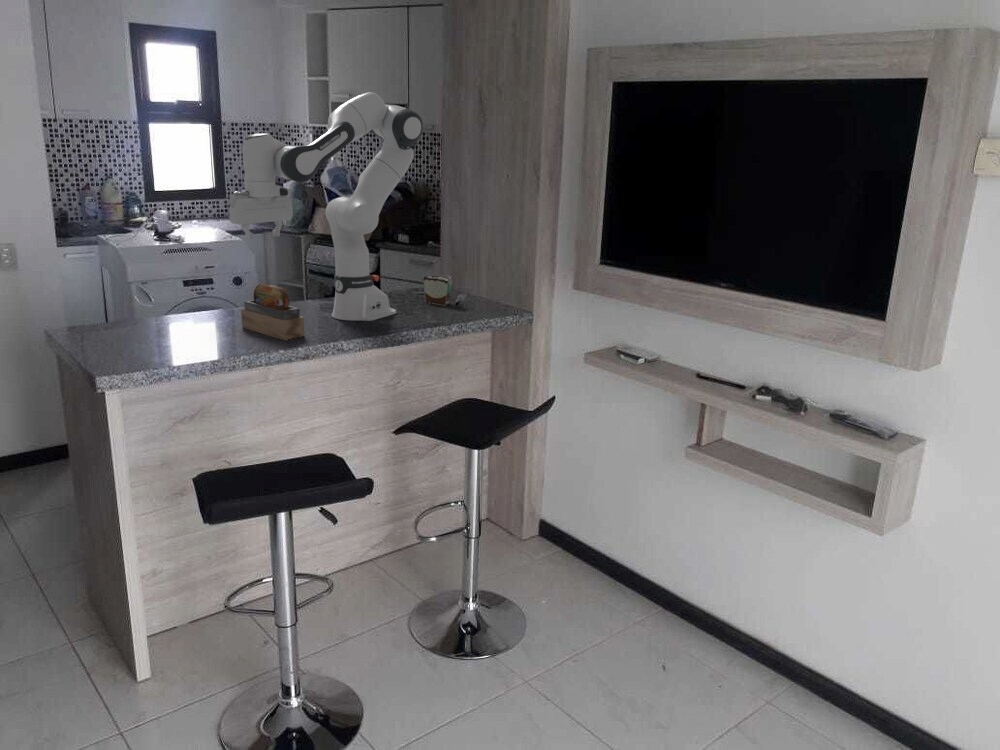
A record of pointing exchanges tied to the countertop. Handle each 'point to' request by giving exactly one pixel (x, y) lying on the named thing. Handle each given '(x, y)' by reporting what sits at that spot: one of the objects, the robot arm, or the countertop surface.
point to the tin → (271, 297)
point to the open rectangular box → (273, 320)
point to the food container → (437, 289)
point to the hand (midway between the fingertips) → (263, 237)
